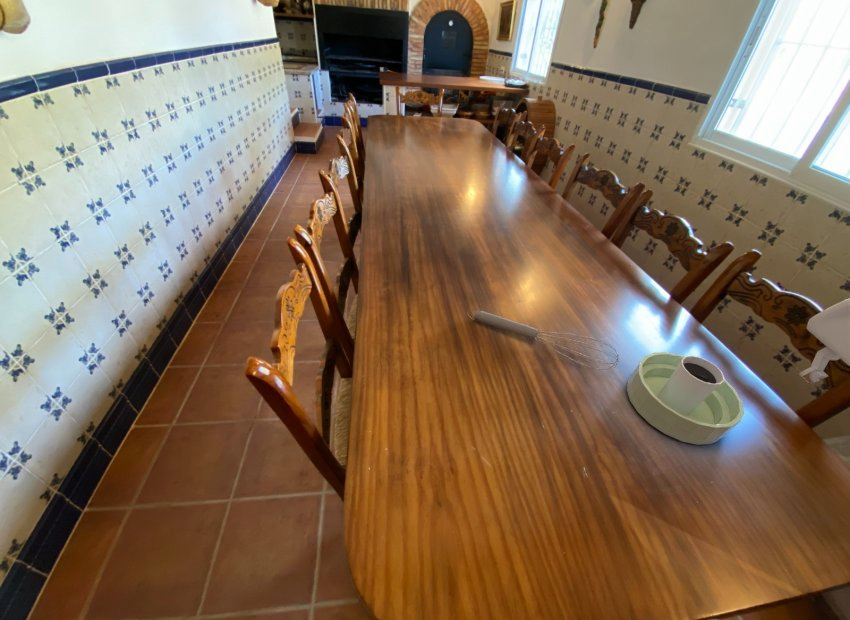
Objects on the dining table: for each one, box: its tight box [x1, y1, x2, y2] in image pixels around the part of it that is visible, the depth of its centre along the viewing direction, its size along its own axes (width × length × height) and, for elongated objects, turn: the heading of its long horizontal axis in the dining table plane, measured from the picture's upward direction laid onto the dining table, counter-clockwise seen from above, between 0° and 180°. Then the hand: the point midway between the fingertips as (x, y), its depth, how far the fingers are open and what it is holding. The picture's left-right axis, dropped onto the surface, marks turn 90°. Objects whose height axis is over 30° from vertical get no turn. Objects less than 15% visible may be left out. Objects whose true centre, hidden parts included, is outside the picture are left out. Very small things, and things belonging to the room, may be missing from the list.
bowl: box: [626, 351, 745, 446], centre depth 68 cm, size 17×17×6 cm
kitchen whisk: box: [466, 308, 620, 371], centre depth 79 cm, size 6×34×6 cm, turn 61°
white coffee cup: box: [658, 355, 725, 416], centre depth 66 cm, size 7×7×10 cm
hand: (839, 411), depth 44 cm, fingers open, 8 cm apart
